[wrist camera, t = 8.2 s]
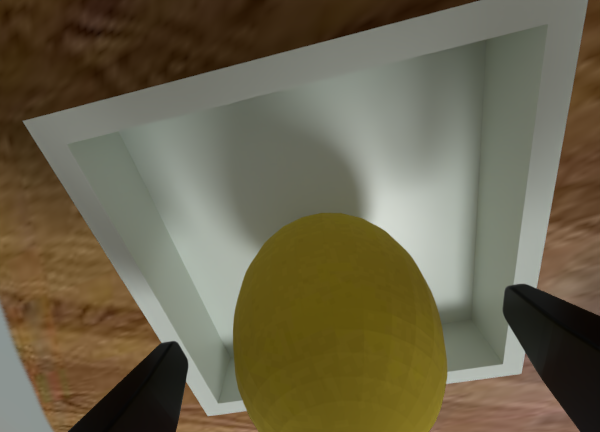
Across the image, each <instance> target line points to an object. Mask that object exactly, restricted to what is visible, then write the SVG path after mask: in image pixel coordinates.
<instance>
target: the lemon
mask: <svg viewBox="0 0 600 432" xmlns="http://www.w3.org/2000/svg"><path fill="white" fill-rule="evenodd" d="M233 352H234V366H235V376H236V381H237V386H238V390H239V393H240V395H241V398H242V400H243V403H244V405H245V408H246V410H247V412H248V414H249V417H250V419H251V420H252V422H253V423H254V425H255V427H256V428H257V430H258V431H259V432H429V431H430V429H431V428H432V426H433V425H434V423H435V421H436V419H437V416H438V414H439V411H440V409H441V405H442V401H443V397H444V393H445V387H446V381H447V356H446V349H445V342H444V336H443V329H442V324H441V320H440V315H439V312H438V308H437V305H436V302H435V299H434V297H433V294H432V292H431V290H430V288H429V286H428V284H427V282H426V280H425V279H424V277H423V275H422V273H421V271H420V270H419V268H418V266H417V264H416V263H415V261H414V260H413V258H412V257H411V255H410V254H409V253H408V252H407V251H406V250H405V249H404V248H403V247H402V246H401V245H400V244H399V243H398V242H397V241H396V240H395V239H394V238H393V237H391V236H390V235H389V234H388V233H387V232H386V231H385V230H383V229H382V228H380V227H378V226H376V225H374V224H372V223H370V222H369V221H367V220H365V219H363V218H359V217H355V216H351V215H347V214H343V213H318V214H314V215H309V216H305V217H301V218H299V219H297V220H295V221H293V222H291V223H289V224H287V225H285V226H283V227H282V228H281V229H280V230H278V231H277V232H276V233H275V234H274V235H273V236H271V237H270V238H269V239H268V240H267V241H266V242H265V243H264V244H263V246H262V247H261V249H260V250H259V252H258V253H257V255H256V256H255V258H254V259H253V261H252V262H251V264H250V265H249V267H248V269H247V271H246V273H245V276H244V279H243V282H242V285H241V289H240V292H239V295H238V299H237V303H236V307H235V313H234V321H233Z"/></svg>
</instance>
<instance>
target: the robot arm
mask: <svg viewBox="0 0 600 432" xmlns="http://www.w3.org/2000/svg"><path fill="white" fill-rule="evenodd" d="M502 309H503V315H504V317H505V319H506V321H507V323H508V324H509V326H510V328H511V329H512V331H513V333H514V334H515V336H516V338H517V339H518V341H519V343H520V344H521V346H522V348H523V349H524V351H525V353H526V354H527V356H528V358H529V359H530V361H531V363H532V364H533V366H534V368H535V369H536V371H537V372H538V374H539V375H540V377H541V379H542V380H543V381H544V383H545V384H546V386H547V387H548V388H549V390H550V391H551V393H552V394H553V395H554V397H555V398H556V399H557V401H558V402H559V403H560V405H561V406H562V408H563V409H564V410H565V412H566V413H567V414H568V416H569V417H570V418H571V420H572V421H573V422H574V424H575V425H576V427H577V428H578V429H579V431H580V432H600V316H598V315H596V314H594V313H592V312H589V311H587V310H585V309H582V308H580V307H578V306H576V305H573V304H571V303H569V302H566V301H564V300H562V299H560V298H557V297H555V296H553V295H550V294H548V293H546V292H544V291H541V290H539V289H537V288H534V287H532V286H530V285H527V284H515V285H509V286H507V287H506V288H505V291H504V300H503V308H502ZM187 372H188V359H187V357H186V355H185V354H184V352H183V350H182V349H181V347H180V345H179V344H178V342H176V341H169V342H163V343H161V344H160V345H158V346H157V347H156V348H155V349H154V350H153V351H152V352H151V353H150V354H149V355H148V356H147V357H146V358H145V359H144V360H143V361H142V362H140V363H139V364H138V365H137V366H136V367H135V368H134V369H133V370H132V371H131V372H130V373H129V374H128V375H127V376H126V377H125V378H124V379H123V380H122V381H121V382H119V383H118V384H117V385H116V386H115V387H114V388H113V389H112V390H111V391H110V392H109V393H108V394H107V395H106V396H105V397H104V398H103V399H102V400H101V401H99V402H98V403H97V404H96V405H95V406H94V407H93V408H92V409H91V410H90V411H89V412H88V413H87V414H86V415H85V416H84V417H83V418H82V419H81V420H80V421H78V422H77V423H76V424H75V425H74V426H73V427H72V428H71V429H70V430H69V431H68V432H176V429H177V424H178V420H179V415H180V410H181V404H182V399H183V394H184V388H185V383H186V378H187Z"/></svg>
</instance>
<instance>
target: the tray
mask: <svg viewBox="0 0 600 432" xmlns="http://www.w3.org/2000/svg"><path fill="white" fill-rule="evenodd" d="M587 4H588V0H480V1H476V2H473V3H469V4H465V5H461V6H457V7H454V8H450V9H446V10H442V11H438V12H435V13H431V14H427V15H423V16H419V17H416V18H412V19H408V20H404V21H400V22H397V23H393V24H389V25H385V26H381V27H378V28H374V29H370V30H366V31H363V32H359V33H355V34H351V35H347V36H344V37H340V38H336V39H332V40H328V41H325V42H321V43H317V44H313V45H309V46H306V47H302V48H298V49H294V50H290V51H287V52H283V53H279V54H275V55H271V56H268V57H264V58H260V59H256V60H252V61H249V62H245V63H241V64H237V65H233V66H230V67H226V68H222V69H218V70H215V71H211V72H207V73H203V74H199V75H196V76H192V77H188V78H184V79H180V80H177V81H173V82H169V83H165V84H161V85H158V86H154V87H150V88H146V89H142V90H139V91H135V92H131V93H127V94H123V95H120V96H116V97H112V98H108V99H104V100H101V101H97V102H93V103H89V104H85V105H82V106H78V107H74V108H70V109H66V110H63V111H59V112H55V113H51V114H48V115H44V116H40V117H36V118H32V119H29V120H25V121H23V123H24V125H25V126H26V128H27V129H28V131H29V132H30V134H31V136H32V137H33V139H34V140H35V142H36V144H37V145H38V147H39V148H40V150H41V152H42V153H43V155H44V156H45V158H46V159H47V161H48V163H49V164H50V166H51V167H52V169H53V171H54V172H55V174H56V175H57V177H58V179H59V180H60V182H61V183H62V185H63V187H64V188H65V190H66V191H67V193H68V194H69V196H70V198H71V199H72V201H73V202H74V204H75V206H76V207H77V209H78V210H79V212H80V214H81V215H82V217H83V218H84V220H85V221H86V223H87V225H88V226H89V228H90V229H91V231H92V233H93V234H94V236H95V237H96V239H97V241H98V242H99V244H100V245H101V247H102V248H103V250H104V252H105V253H106V255H107V256H108V258H109V260H110V261H111V263H112V264H113V266H114V268H115V269H116V271H117V272H118V274H119V276H120V277H121V279H122V280H123V282H124V283H125V285H126V287H127V288H128V290H129V291H130V293H131V295H132V296H133V298H134V299H135V301H136V303H137V304H138V306H139V307H140V309H141V310H142V312H143V314H144V315H145V317H146V318H147V320H148V322H149V323H150V325H151V326H152V328H153V330H154V331H155V333H156V334H157V336H158V338H159V339H160V341H161V342H162V343H163V342H169V341H176V342H178V344H179V345H180V347H181V349H182V350H183V352H184V354H185V355H186V357H187V359H188V372H187V378H186V382H187V384H188V385H189V387H190V388H191V390H192V392H193V393H194V395H195V396H196V398H197V399H198V401H199V403H200V404H201V406H202V407H203V409H204V411H205V412H206V414H207V415H208V416H212V415H220V414H227V413H234V412H242V411H247V410H246V408H245V405H244V403H243V400H242V398H241V395H240V393H239V390H238V386H237V381H236V376H235V366H234V352H233V321H234V313H235V307H236V303H237V299H238V295H239V292H240V289H241V285H242V282H243V279H244V276H245V273H246V271H247V269H248V267H249V265H250V264H251V262H252V261H253V259H254V258H255V256H256V255H257V253H258V252H259V250H260V249H261V247H262V246H263V244H264V243H265V242H266V241H267V240H268V239H269V238H270V237H271V236H273V235H274V234H275V233H276V232H277V231H278V230H280V229H281V228H282V227H283V226H285V225H287V224H289V223H291V222H293V221H295V220H297V219H299V218H301V217H305V216H309V215H314V214H318V213H343V214H347V215H351V216H355V217H359V218H363V219H365V220H367V221H369V222H370V223H372V224H374V225H376V226H378V227H380V228H382V229H383V230H385V231H386V232H387V233H388V234H389V235H390V236H391V237H393V238H394V239H395V240H396V241H397V242H398V243H399V244H400V245H401V246H402V247H403V248H404V249H405V250H406V251H407V252H408V253H409V254H410V255H411V257H412V258H413V260H414V261H415V263H416V264H417V266H418V268H419V270H420V271H421V273H422V275H423V277H424V279H425V280H426V282H427V284H428V286H429V288H430V290H431V292H432V294H433V297H434V299H435V302H436V305H437V308H438V312H439V315H440V320H441V324H442V329H443V336H444V342H445V349H446V356H447V381H446V384H449V383H457V382H464V381H471V380H479V379H486V378H494V377H501V376H508V375H516V374H521V373H522V367H523V362H524V356H525V351H524V349H523V348H522V346H521V344H520V343H519V341H518V339H517V338H516V336H515V334H514V333H513V331H512V329H511V328H510V326H509V324H508V323H507V321H506V319H505V317H504V315H503V309H502V308H503V300H504V291H505V288H506V287H507V286H509V285H515V284H527V285H530V286H532V287H534V288H537V283H538V278H539V272H540V267H541V261H542V255H543V250H544V244H545V239H546V233H547V227H548V222H549V216H550V211H551V205H552V199H553V194H554V188H555V183H556V177H557V171H558V166H559V160H560V155H561V149H562V143H563V138H564V132H565V127H566V121H567V116H568V110H569V104H570V99H571V93H572V88H573V82H574V76H575V71H576V65H577V60H578V54H579V48H580V43H581V37H582V32H583V26H584V20H585V15H586V9H587Z"/></svg>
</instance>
